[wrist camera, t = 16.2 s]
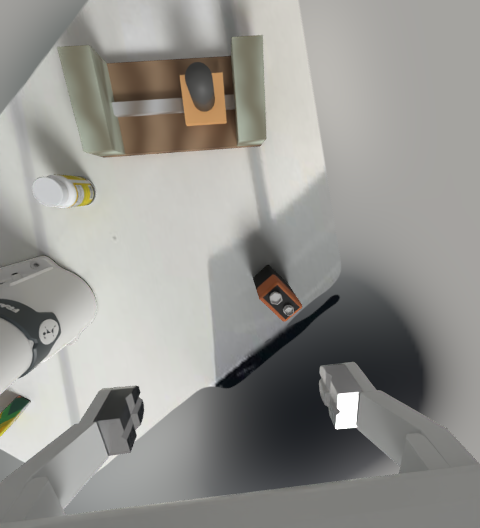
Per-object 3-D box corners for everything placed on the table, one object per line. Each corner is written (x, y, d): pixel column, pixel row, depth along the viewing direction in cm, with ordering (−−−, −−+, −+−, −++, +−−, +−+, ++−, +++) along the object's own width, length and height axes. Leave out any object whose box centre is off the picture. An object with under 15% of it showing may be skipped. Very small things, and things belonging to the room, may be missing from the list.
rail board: (104, 157, 39) (83, 151, 33) (84, 70, 35) (56, 46, 29) (260, 146, 39) (266, 138, 34) (256, 59, 36) (262, 35, 30)
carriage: (188, 128, 36) (177, 109, 28) (182, 82, 35) (168, 48, 26) (226, 125, 37) (226, 106, 28) (222, 80, 35) (221, 45, 26)
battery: (268, 263, 46) (279, 282, 36) (289, 285, 48) (306, 309, 38) (251, 278, 47) (258, 300, 37) (274, 299, 48) (285, 326, 39)
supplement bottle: (61, 188, 40) (20, 188, 32) (81, 170, 39) (43, 165, 31) (84, 211, 41) (49, 216, 33) (103, 194, 40) (72, 195, 32)
